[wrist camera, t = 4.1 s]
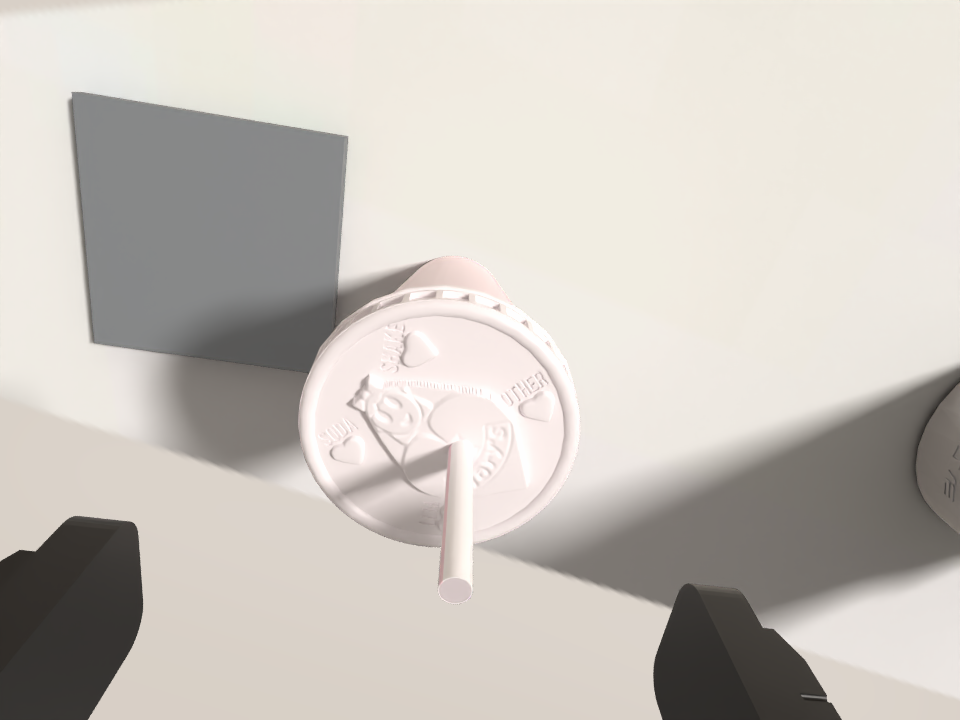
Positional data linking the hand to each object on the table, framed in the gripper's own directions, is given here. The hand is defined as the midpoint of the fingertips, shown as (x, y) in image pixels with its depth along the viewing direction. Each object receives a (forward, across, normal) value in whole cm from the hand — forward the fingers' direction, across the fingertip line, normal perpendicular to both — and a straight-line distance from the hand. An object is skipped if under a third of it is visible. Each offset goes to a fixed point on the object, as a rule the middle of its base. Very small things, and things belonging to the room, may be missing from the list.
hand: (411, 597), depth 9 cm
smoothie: (+15, 0, 0) cm, 15 cm away
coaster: (+15, +8, -1) cm, 17 cm away
